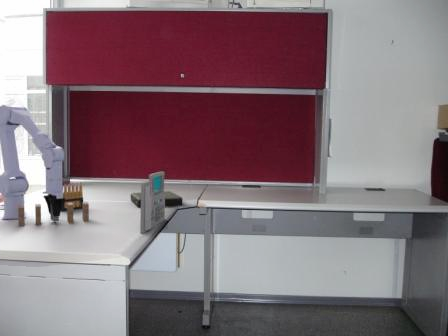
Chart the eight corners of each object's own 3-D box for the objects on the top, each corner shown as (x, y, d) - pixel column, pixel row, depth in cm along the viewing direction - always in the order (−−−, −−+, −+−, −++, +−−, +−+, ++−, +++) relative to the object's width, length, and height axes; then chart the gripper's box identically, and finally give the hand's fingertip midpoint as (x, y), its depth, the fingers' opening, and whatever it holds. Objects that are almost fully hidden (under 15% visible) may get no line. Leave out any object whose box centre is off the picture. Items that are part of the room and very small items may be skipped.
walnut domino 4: (82, 219, 157) (82, 202, 157) (87, 219, 158) (87, 201, 157) (83, 222, 153) (83, 204, 152) (88, 221, 154) (88, 203, 153)
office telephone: (146, 234, 136) (147, 177, 135) (139, 234, 137) (140, 176, 135) (168, 220, 159) (168, 171, 157) (161, 220, 160) (162, 170, 158)
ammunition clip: (60, 211, 171) (60, 184, 170) (58, 211, 172) (58, 183, 171) (83, 208, 179) (83, 182, 178) (81, 208, 180) (81, 181, 179)
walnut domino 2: (35, 222, 150) (35, 204, 150) (40, 222, 151) (40, 204, 150) (35, 225, 146) (35, 206, 145) (41, 225, 146) (40, 206, 146)
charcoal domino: (50, 219, 152) (50, 201, 151) (55, 218, 153) (55, 200, 152) (53, 221, 148) (53, 203, 147) (58, 221, 149) (58, 202, 148)
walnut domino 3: (67, 220, 155) (67, 202, 154) (72, 220, 156) (72, 202, 155) (68, 223, 150) (68, 205, 150) (73, 222, 151) (73, 204, 151)
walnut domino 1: (19, 223, 148) (18, 205, 147) (24, 223, 149) (24, 204, 148) (18, 226, 143) (18, 207, 143) (24, 226, 144) (23, 207, 143)
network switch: (187, 207, 191) (187, 196, 191) (140, 211, 179) (140, 200, 178) (168, 199, 211) (168, 190, 210) (125, 202, 199) (125, 192, 198)
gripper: (37, 177, 152) (38, 212, 154) (48, 181, 141) (48, 219, 142) (56, 176, 157) (57, 210, 158) (68, 180, 145) (68, 217, 147)
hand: (54, 214), depth 150 cm, fingers closed on charcoal domino, 5 cm apart
